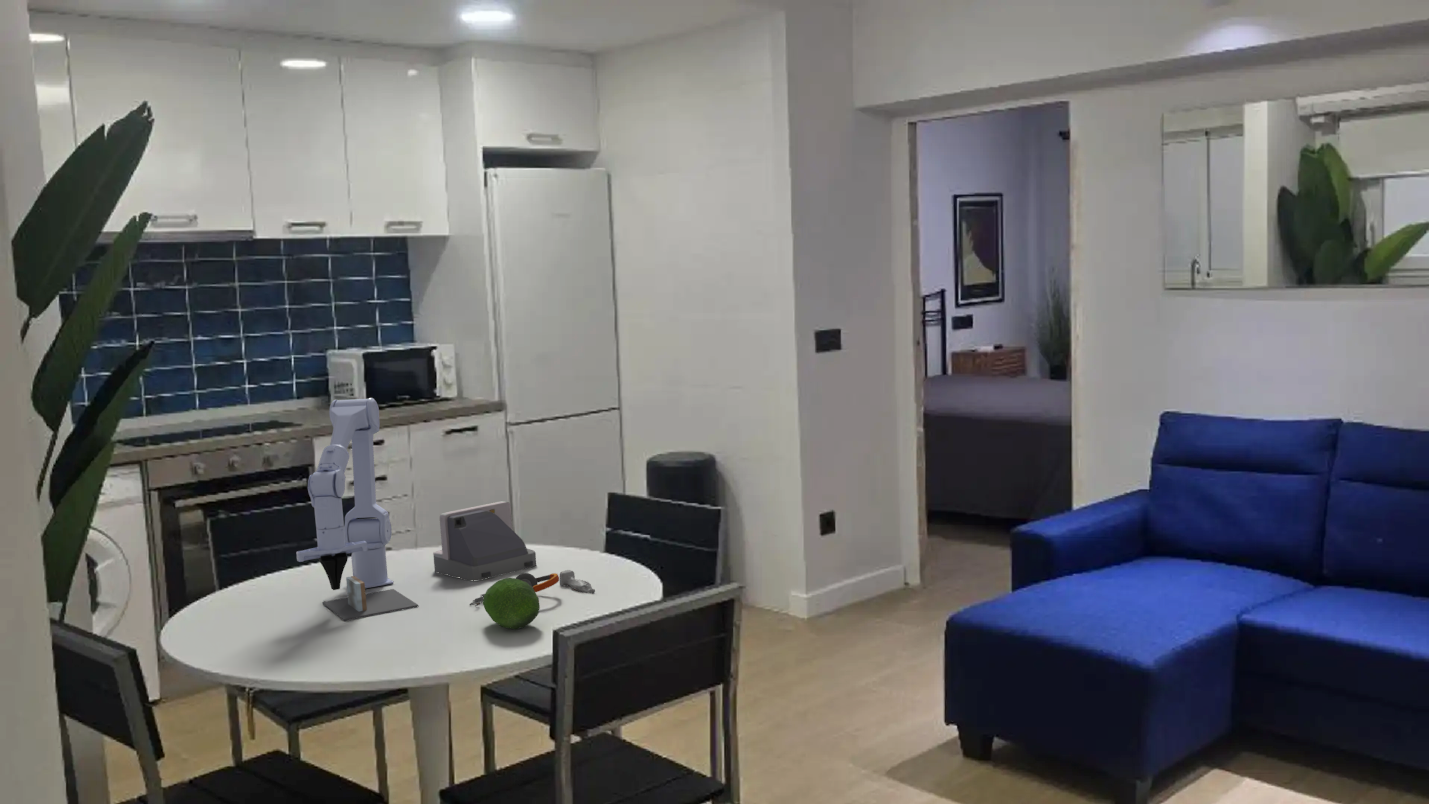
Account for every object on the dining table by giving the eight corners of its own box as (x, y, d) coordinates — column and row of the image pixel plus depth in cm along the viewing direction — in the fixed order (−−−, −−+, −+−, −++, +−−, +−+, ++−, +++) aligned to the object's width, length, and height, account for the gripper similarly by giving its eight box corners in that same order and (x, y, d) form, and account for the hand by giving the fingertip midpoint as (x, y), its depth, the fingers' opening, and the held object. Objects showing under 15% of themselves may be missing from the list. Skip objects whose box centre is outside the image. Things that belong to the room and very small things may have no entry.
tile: (348, 604, 272) (346, 577, 271) (356, 602, 273) (354, 575, 272) (358, 611, 265) (356, 584, 264) (366, 610, 266) (364, 582, 265)
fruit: (473, 623, 253) (469, 575, 252) (518, 613, 258) (514, 566, 257) (503, 639, 240) (499, 589, 239) (549, 628, 246) (546, 579, 245)
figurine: (572, 584, 282) (572, 569, 282) (599, 599, 273) (600, 583, 272) (558, 586, 280) (559, 571, 280) (586, 601, 271) (586, 586, 270)
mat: (322, 603, 275) (322, 601, 275) (393, 590, 283) (393, 588, 283) (344, 620, 260) (344, 619, 260) (418, 606, 268) (418, 604, 268)
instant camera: (507, 555, 315) (502, 497, 313) (545, 568, 298) (540, 507, 296) (428, 570, 303) (423, 509, 301) (463, 585, 286) (458, 521, 284)
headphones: (486, 577, 280) (566, 558, 275) (493, 600, 280) (573, 581, 275) (454, 598, 264) (538, 578, 259) (461, 621, 264) (546, 602, 259)
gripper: (299, 534, 258) (305, 598, 259) (369, 524, 265) (374, 586, 267) (292, 529, 264) (297, 592, 265) (360, 519, 271) (365, 580, 273)
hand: (335, 588), depth 266 cm, fingers closed
